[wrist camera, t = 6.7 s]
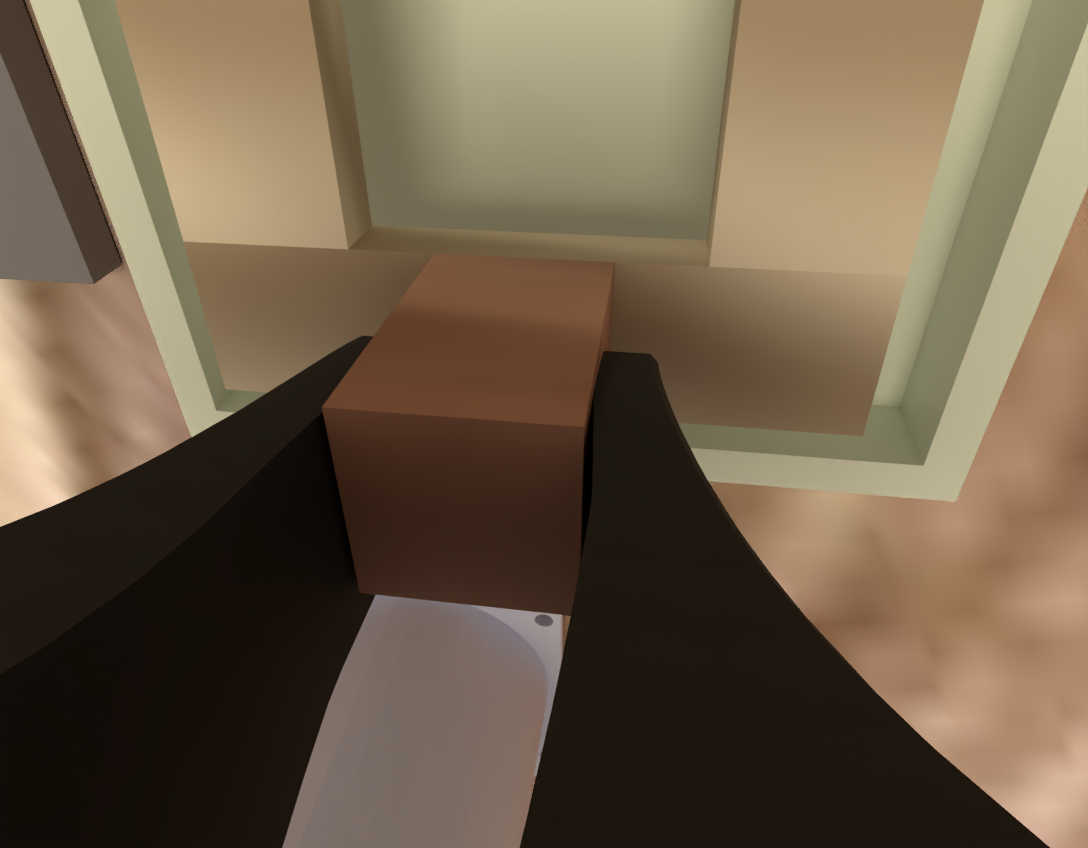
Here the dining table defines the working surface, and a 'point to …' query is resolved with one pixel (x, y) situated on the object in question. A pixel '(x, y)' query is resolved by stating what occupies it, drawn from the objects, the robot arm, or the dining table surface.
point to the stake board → (43, 172)
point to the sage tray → (644, 189)
